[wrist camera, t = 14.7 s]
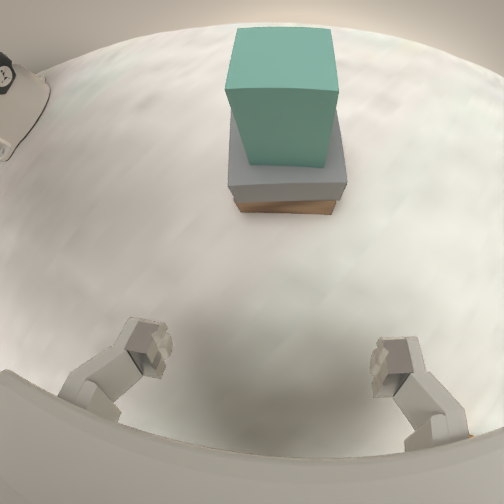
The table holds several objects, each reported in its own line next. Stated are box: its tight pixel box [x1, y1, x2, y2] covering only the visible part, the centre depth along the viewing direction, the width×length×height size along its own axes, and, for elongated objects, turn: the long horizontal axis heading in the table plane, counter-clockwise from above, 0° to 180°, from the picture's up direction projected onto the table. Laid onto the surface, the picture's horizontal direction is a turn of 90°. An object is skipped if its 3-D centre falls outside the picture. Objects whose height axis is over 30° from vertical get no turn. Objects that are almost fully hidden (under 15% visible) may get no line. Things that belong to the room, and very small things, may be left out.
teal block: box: [225, 27, 339, 168], centre depth 15 cm, size 5×5×8 cm
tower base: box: [234, 198, 336, 215], centre depth 24 cm, size 8×8×4 cm
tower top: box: [228, 109, 347, 203], centre depth 21 cm, size 8×8×4 cm
